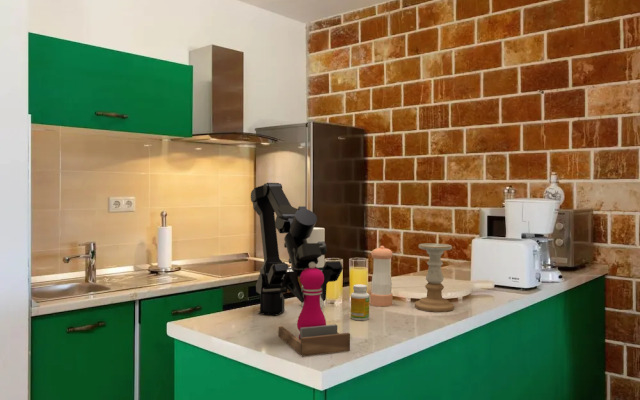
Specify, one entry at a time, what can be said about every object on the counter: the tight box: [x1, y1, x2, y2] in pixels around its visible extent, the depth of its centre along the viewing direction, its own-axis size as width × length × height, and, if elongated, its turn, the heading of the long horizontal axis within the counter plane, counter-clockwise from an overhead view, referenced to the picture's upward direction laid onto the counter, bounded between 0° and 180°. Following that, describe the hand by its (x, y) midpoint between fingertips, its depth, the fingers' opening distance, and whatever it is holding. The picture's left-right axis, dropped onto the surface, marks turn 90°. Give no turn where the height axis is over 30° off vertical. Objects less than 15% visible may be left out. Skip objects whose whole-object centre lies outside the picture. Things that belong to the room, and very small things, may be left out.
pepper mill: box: [296, 262, 327, 340], centre depth 135 cm, size 7×7×20 cm
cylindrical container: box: [301, 227, 326, 309], centre depth 175 cm, size 7×7×25 cm
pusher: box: [299, 324, 338, 340], centre depth 131 cm, size 1×9×5 cm, turn 112°
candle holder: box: [414, 242, 455, 313], centre depth 174 cm, size 12×12×20 cm
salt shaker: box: [369, 245, 394, 307], centre depth 179 cm, size 7×7×19 cm
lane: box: [277, 325, 351, 357], centre depth 134 cm, size 18×12×4 cm
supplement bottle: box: [350, 283, 370, 321], centre depth 160 cm, size 5×5×10 cm
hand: (313, 300), depth 134 cm, fingers open, 5 cm apart
